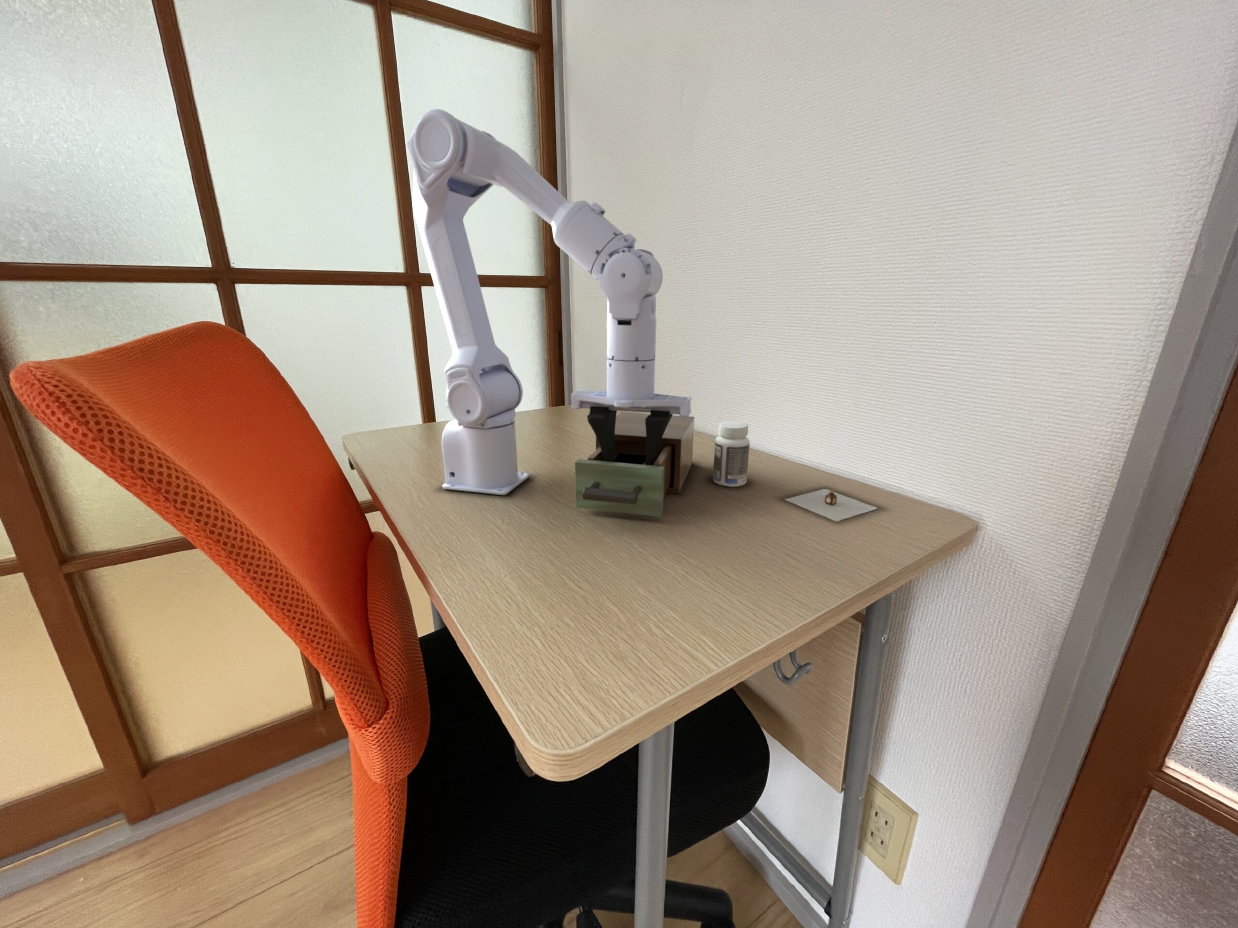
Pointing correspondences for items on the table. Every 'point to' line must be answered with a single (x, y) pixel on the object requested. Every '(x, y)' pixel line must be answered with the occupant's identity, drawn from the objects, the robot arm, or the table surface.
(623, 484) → the drawer
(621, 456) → the tray
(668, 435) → the cabinet
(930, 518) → the table surface
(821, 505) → the grey square plate
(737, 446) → the pill bottle
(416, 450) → the table surface
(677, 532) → the table surface
